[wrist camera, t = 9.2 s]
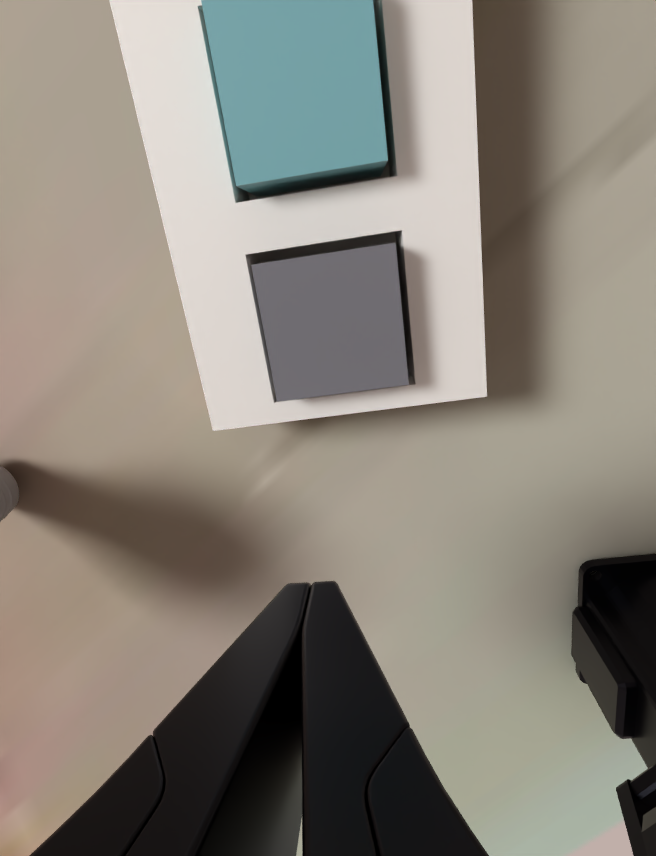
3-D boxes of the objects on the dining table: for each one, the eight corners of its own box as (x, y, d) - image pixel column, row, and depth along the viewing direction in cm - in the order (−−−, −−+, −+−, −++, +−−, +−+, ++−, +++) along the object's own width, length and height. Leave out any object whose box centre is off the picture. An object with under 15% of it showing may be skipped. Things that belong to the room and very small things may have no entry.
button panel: (430, -319, 12) (454, -482, 10) (466, 373, 19) (487, 396, 16) (91, -234, 13) (22, -362, 10) (232, 403, 19) (213, 430, 17)
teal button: (365, 23, 14) (369, -35, 11) (380, 176, 16) (388, 160, 13) (231, 49, 15) (200, 0, 12) (257, 196, 16) (236, 186, 13)
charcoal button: (387, 243, 16) (395, 242, 13) (398, 360, 18) (409, 384, 15) (268, 261, 17) (251, 264, 14) (289, 375, 18) (277, 401, 15)
